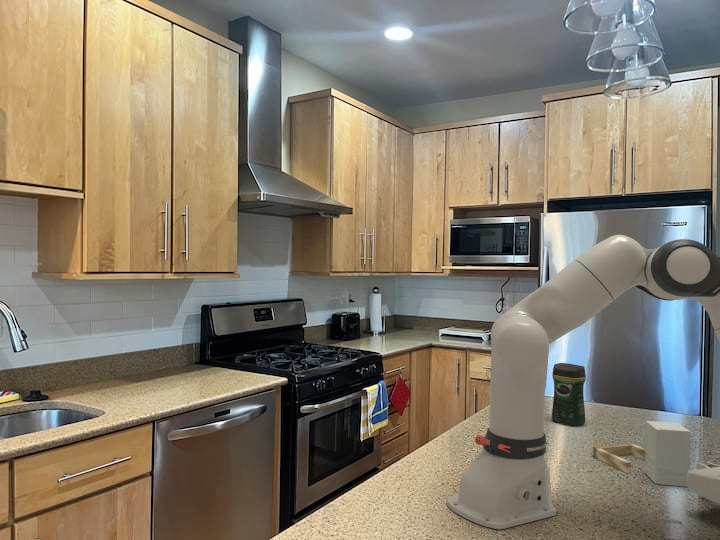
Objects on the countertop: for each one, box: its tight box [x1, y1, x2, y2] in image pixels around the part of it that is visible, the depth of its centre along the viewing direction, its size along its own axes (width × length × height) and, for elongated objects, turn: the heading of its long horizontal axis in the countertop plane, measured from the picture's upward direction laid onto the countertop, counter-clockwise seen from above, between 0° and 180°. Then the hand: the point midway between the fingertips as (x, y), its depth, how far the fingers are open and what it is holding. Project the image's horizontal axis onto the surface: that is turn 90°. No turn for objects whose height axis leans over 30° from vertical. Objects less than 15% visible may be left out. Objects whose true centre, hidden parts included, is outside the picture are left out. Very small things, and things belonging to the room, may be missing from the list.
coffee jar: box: [551, 362, 587, 427], centre depth 169 cm, size 10×8×19 cm
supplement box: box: [644, 420, 691, 488], centre depth 124 cm, size 7×7×13 cm
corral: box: [592, 443, 646, 474], centre depth 135 cm, size 11×12×2 cm
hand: (701, 465), depth 116 cm, fingers closed
